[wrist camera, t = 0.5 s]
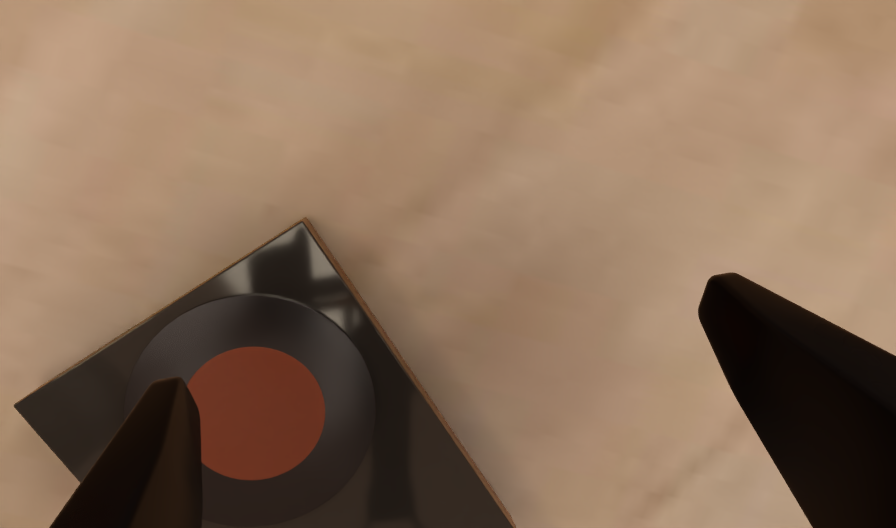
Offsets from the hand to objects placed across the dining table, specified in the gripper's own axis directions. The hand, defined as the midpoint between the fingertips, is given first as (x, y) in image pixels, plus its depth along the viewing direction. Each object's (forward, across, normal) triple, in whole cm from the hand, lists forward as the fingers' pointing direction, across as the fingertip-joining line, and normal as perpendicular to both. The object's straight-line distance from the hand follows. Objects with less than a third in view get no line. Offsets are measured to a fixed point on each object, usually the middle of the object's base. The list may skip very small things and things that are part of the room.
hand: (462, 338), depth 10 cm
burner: (+8, +6, +11) cm, 15 cm away
